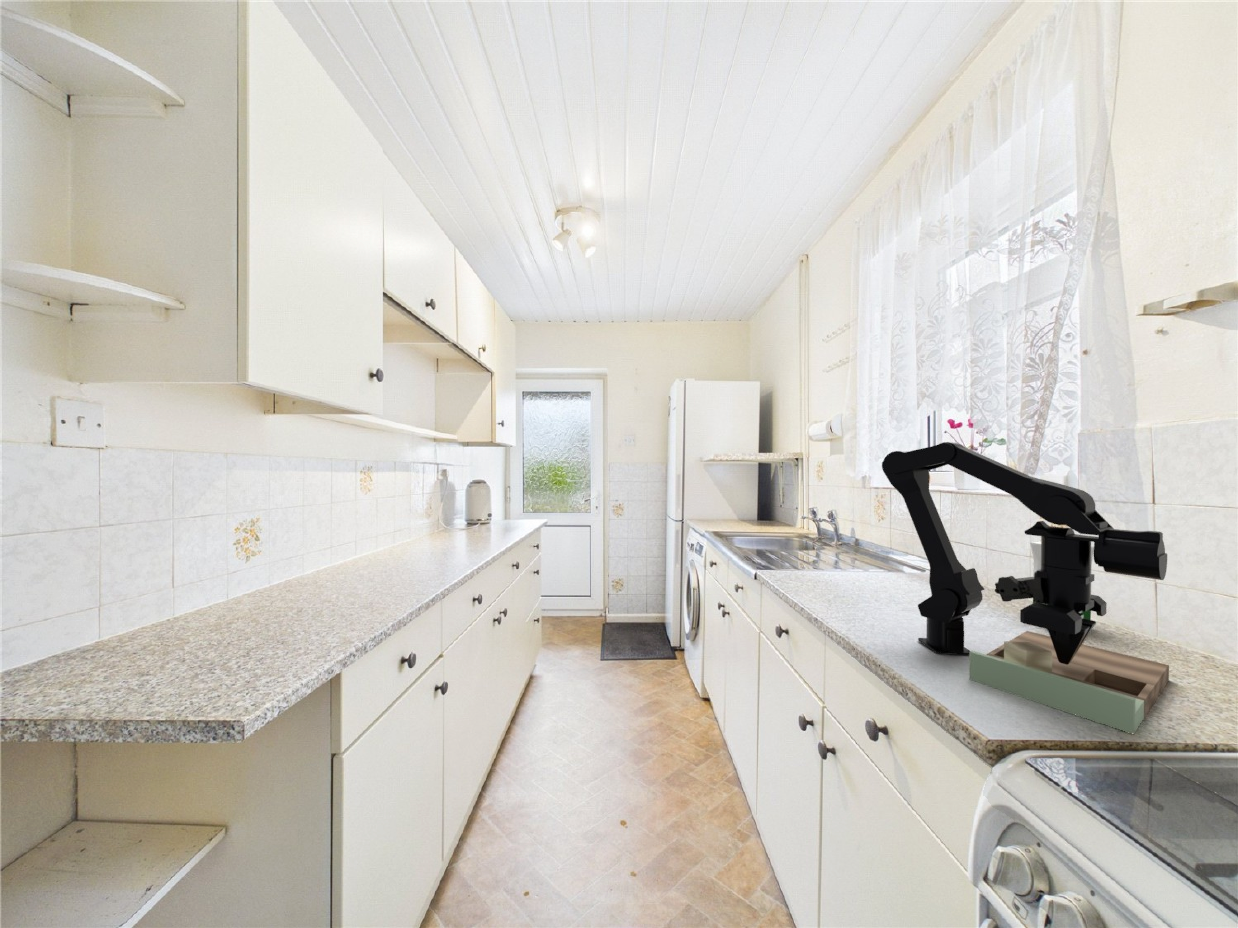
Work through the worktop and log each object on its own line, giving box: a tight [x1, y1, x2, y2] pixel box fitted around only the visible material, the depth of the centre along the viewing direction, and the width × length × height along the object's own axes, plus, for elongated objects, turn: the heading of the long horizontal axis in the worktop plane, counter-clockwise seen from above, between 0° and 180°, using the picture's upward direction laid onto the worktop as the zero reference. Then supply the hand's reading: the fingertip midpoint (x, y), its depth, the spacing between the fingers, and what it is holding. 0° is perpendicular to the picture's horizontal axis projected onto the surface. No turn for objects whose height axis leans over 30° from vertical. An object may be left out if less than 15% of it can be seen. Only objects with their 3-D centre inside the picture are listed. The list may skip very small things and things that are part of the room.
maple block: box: [1003, 640, 1052, 674], centre depth 72 cm, size 4×4×4 cm
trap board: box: [985, 630, 1170, 718], centre depth 76 cm, size 21×18×2 cm
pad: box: [968, 650, 1145, 734], centre depth 69 cm, size 7×18×4 cm, turn 33°
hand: (1064, 663), depth 73 cm, fingers closed
